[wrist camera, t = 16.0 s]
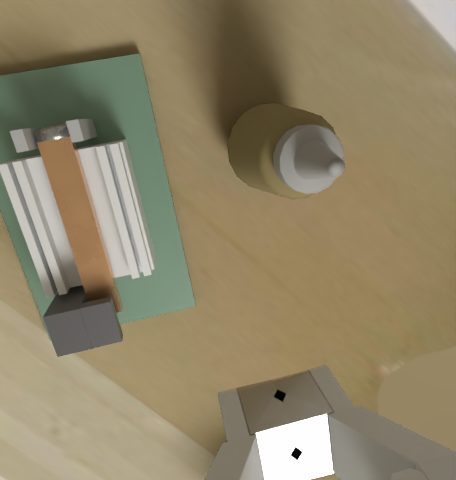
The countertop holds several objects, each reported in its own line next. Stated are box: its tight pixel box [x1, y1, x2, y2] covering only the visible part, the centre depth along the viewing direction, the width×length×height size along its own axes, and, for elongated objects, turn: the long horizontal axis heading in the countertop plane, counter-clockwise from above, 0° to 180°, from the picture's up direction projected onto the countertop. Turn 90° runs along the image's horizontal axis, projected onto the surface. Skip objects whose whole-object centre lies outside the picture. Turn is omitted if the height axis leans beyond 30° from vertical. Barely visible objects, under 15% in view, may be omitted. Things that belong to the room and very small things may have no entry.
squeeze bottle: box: [228, 103, 345, 199], centre depth 31 cm, size 8×8×18 cm
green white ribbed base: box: [0, 53, 196, 340], centre depth 35 cm, size 26×16×8 cm, turn 10°
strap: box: [35, 123, 123, 313], centre depth 33 cm, size 17×3×1 cm, turn 10°
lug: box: [43, 285, 123, 357], centre depth 36 cm, size 4×6×8 cm
